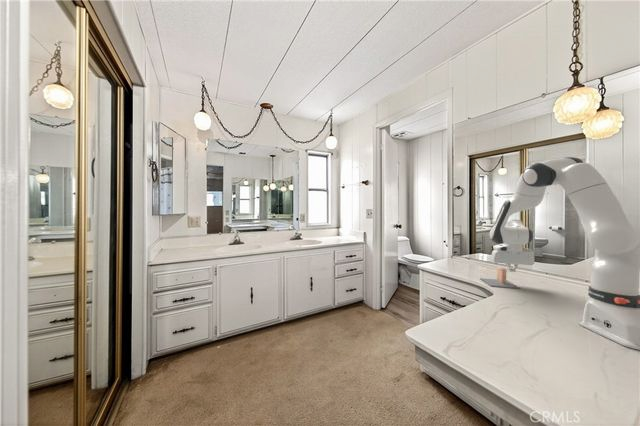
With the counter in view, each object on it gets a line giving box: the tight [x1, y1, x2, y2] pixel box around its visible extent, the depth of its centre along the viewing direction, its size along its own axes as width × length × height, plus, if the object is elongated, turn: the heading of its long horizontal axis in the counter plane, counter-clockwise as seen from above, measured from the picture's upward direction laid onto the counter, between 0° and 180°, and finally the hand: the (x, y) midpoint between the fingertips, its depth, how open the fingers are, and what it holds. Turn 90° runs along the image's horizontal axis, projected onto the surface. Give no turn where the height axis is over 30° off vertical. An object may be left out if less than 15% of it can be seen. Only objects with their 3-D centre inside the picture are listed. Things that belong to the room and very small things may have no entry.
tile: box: [496, 266, 507, 284], centre depth 139 cm, size 6×2×8 cm, turn 166°
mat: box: [479, 277, 521, 290], centre depth 137 cm, size 14×14×1 cm
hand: (511, 271), depth 137 cm, fingers closed
